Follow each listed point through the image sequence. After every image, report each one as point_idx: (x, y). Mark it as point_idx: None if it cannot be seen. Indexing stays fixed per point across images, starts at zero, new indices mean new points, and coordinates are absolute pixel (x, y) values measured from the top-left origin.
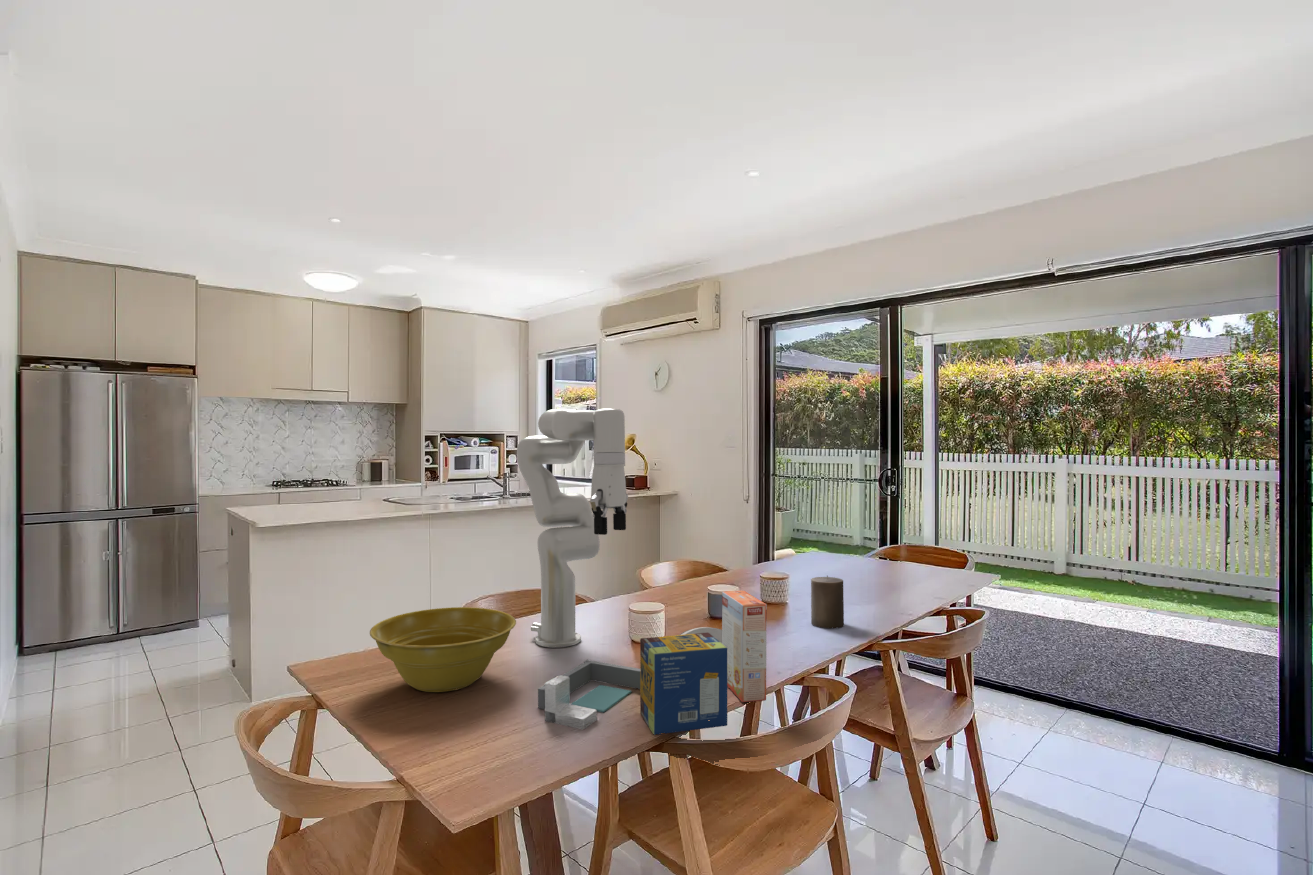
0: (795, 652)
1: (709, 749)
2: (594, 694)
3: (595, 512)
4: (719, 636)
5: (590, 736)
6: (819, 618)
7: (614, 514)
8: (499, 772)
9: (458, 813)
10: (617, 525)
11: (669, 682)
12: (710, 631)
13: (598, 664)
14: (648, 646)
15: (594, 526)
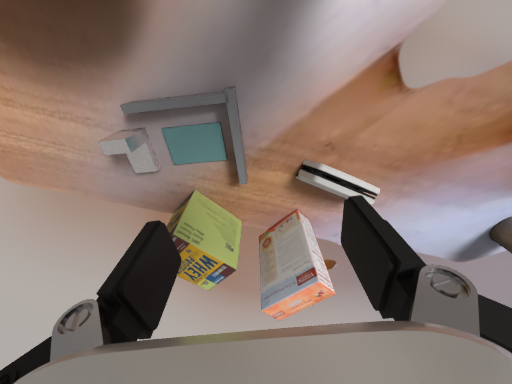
0: (397, 230)
1: None
2: (195, 134)
3: (44, 360)
4: None
5: (136, 180)
6: (505, 232)
7: (388, 267)
8: (47, 162)
9: (5, 176)
10: (351, 229)
11: None
12: None
13: (228, 114)
14: None
15: (132, 247)
